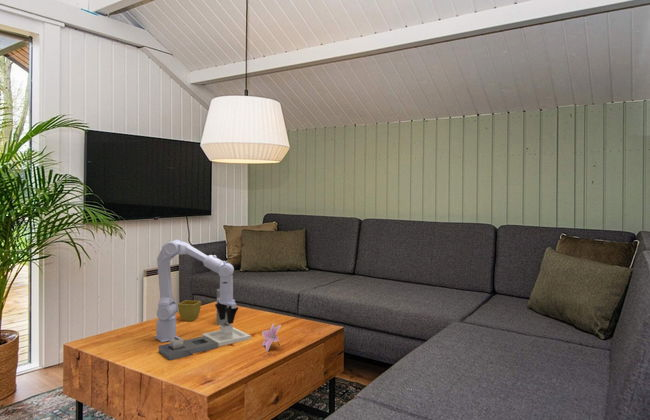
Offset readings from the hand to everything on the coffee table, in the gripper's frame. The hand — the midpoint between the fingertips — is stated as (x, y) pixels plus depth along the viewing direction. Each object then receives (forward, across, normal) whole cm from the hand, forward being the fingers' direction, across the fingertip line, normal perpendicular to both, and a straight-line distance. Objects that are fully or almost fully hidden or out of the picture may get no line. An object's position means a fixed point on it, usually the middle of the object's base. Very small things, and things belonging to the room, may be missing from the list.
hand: (226, 321), depth 199 cm
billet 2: (+8, 0, 0) cm, 8 cm away
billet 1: (+8, -3, +24) cm, 26 cm away
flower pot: (+8, +39, 0) cm, 40 cm away
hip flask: (+8, +25, -13) cm, 29 cm away
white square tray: (+8, 0, 0) cm, 8 cm away
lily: (+8, -21, -10) cm, 25 cm away
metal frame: (+8, -3, +19) cm, 21 cm away
